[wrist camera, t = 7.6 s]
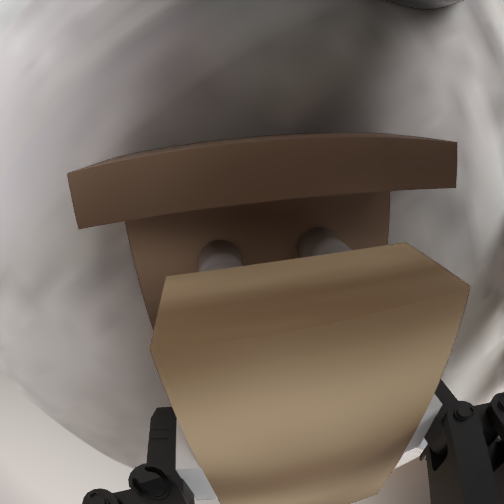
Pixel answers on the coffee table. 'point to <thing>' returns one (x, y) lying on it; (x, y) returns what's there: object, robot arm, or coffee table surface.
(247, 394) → the board
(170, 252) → the cradle
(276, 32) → the coffee table surface
